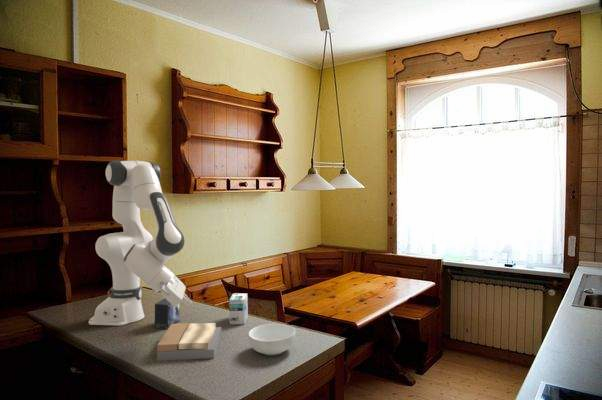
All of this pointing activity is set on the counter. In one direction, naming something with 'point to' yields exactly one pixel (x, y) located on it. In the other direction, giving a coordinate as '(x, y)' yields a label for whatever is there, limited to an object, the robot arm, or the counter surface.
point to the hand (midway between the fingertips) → (190, 304)
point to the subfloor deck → (171, 351)
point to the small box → (166, 314)
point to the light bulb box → (238, 308)
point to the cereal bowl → (272, 338)
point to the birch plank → (197, 336)
